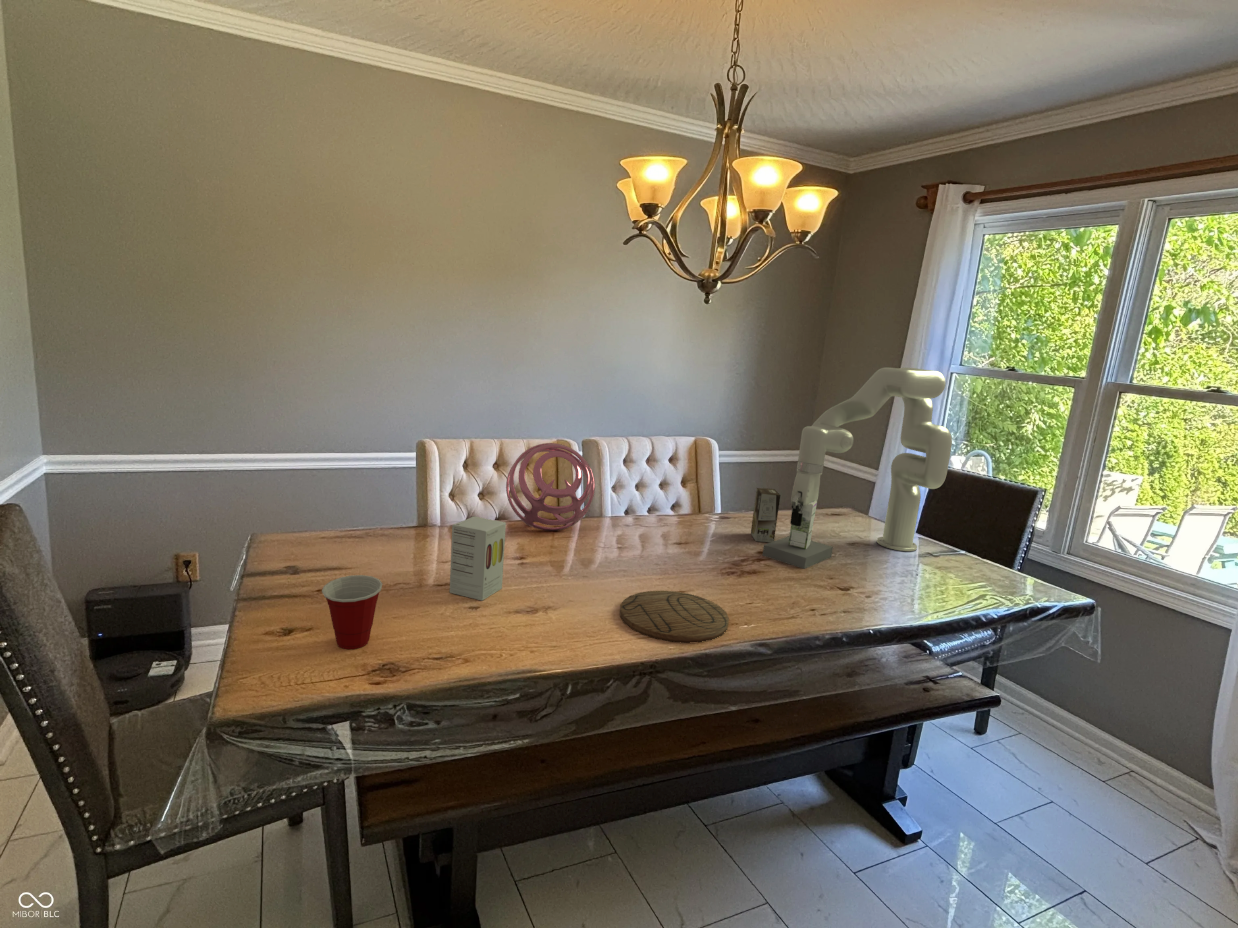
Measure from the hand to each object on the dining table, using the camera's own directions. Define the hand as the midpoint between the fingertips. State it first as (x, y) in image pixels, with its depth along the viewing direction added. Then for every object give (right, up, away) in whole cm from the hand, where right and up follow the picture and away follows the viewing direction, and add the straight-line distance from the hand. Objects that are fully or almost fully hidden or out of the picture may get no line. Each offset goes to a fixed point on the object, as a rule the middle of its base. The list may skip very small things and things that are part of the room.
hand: (802, 522), depth 208 cm
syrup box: (-1, -7, +2) cm, 8 cm away
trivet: (-43, -18, -50) cm, 69 cm away
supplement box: (-90, -13, -45) cm, 101 cm away
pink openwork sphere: (-78, -3, +10) cm, 79 cm away
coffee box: (-8, -7, +18) cm, 21 cm away
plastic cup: (-108, -17, -75) cm, 132 cm away
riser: (-1, -11, +2) cm, 11 cm away
